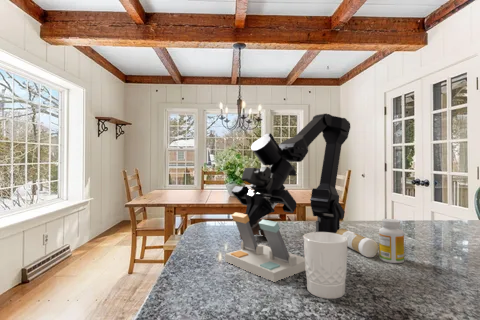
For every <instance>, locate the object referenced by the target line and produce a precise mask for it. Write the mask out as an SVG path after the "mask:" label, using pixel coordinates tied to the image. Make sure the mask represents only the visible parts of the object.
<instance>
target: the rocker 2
mask: <svg viewBox="0 0 480 320" xmlns="http://www.w3.org/2000/svg"><path fill="white" fill-rule="evenodd" d="M259 225H260V228H261V229H263V231H264V234H265V236H264V237H265V238H266V240H267V243H268V245H269V246H268V247H270V248H271V251H272V253H273V255H274V258H275V259H277V260H280V261H283V262H286V263H289V257H290V256H289V253H290V252H289V251H288V248H287V246H286V243H285V241H284V238H283V236H282V234H281V231H280V230H281V227H280V225H279V222H277V221H273V220H270V219H269V220H268V219H262V218H261V221H260V222H259Z"/></svg>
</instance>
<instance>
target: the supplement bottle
mask: <svg viewBox="0 0 480 320" xmlns="http://www.w3.org/2000/svg"><path fill="white" fill-rule="evenodd" d="M381 225H382V227H381V228H379V229H378V253H379V259H380V260H381V261H383V262H385V263H390V264H402V263H404V262H405V234H404V233H405V232H404V230H402V228H401V220H399V219H396V218H395V219H394V218H383V219H381ZM400 228H401V229H400Z"/></svg>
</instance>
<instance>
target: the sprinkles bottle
mask: <svg viewBox="0 0 480 320" xmlns="http://www.w3.org/2000/svg"><path fill="white" fill-rule="evenodd" d="M336 234H340V235H343V236H345V237H347V239H348V241H347V248H350V249H351V250H353V251H354V252H355V251H356V252H357V253H360V255H362V256H364V257H367V258H374V257H375V256H376V255H377V254H378V253H379V244H378V242H376V241H375V240H374V239H371V238H370V237H366V236H362V235H361V234H358V233H356V232H354V231H352V230H348V229H347V228H345V227H344V228H343V227H342V228H341V227H340V229H339V230H338V231H337V232H336Z"/></svg>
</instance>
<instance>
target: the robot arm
mask: <svg viewBox="0 0 480 320" xmlns="http://www.w3.org/2000/svg"><path fill="white" fill-rule="evenodd" d="M350 130H351V122H350V121H349V120H348V119H347V118H345V117H339V116H335V115H331V114H330V113H320V114H315V115H314V116H313V117H312V119H311V120H310V121H309V122H308V123H307V124H306V125H305V126H304V127H303V128H301V129H300V131H299V132H298V133H297V134H296V135H294V136H293V137H291V138H288V139H285V140H284V141H282V142H280V143H277V141H276V140H275V138H274V136H273V134H272V133H271V132H270V133H265V134H264V135H262V136H261V137H259V138H258V139H256V140H255V141H254V142H252V144H251V147H250V149H251V151H252V152H253V154H254V155H255V156H256V157H257V158H258V160H259V161H260V162H261V164H262V165H264V166H263V167H261V168H256V167H244V170H243V173H242V176H241V179H240V180H241V181H242V182H246V183H248V184H249V185H250V186H249V187H250V188H251V189H252V190H251V189H250V188H248V186H246V185H245V186H244V185H235V186H234V187H233V188H232V190H231V194H232V195H233V196H234V197H235V198H236V199H237V201H239V202H240V203H241V205H242V206H246V208H245V209H246V210H245V213H244V214H247V215H248V217H249V224H250V225H251V224H252V223H254V222H256V221H257V220H259V219H262V218H263V217H266V216H267V215H269V214H273V213H274V212H275V207H276V206H277V205H278V204H279V205H280V204H281V205H283V206H282V210H283V212H284V213H290V214H293V213H295V210H296V208H297V201H296V200H295V198H294V197H293V195H292V194H291V193H290V191H289V190H288V189H286V187H285V185H284V184H285V183H286V180H287V179H288V177H289V176H292V177H293V176H294V177H295V176H297V171H296V169H295V166H294V165H292V163H300V162H302V161H303V160H304V159H305V157H306V155H308V153H309V147H310V145H311V144H312V143H313V141H315V140H316V139H317V138H318V136H320V134H321V133H322V137H323V140H324V141H325V148H324V155H323V161H322V167H321V174H320V179H319V180H320V181H319V184H318V186H317V187H316V188H312V190H311V197H310V199H309V201H310V208H311V212H312V216H313V217H317V218H316V219H317V220H316V221H315V232H329V233H336V232H337V231H338V230H339V229H341V226H340V222H341V221H340V220H343V219H344V218H345V213H346V212H345V209H344V208H343V207H342V205H341V203H340V195H339V193H338V190H337V189H336V186H337V185H336V184H337V179H338V172H339V164H340V159H341V158H340V156H341V151H342V145H343V144H344V143H345V142H346V140H347V139H348V138H349V133H350Z"/></svg>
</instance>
